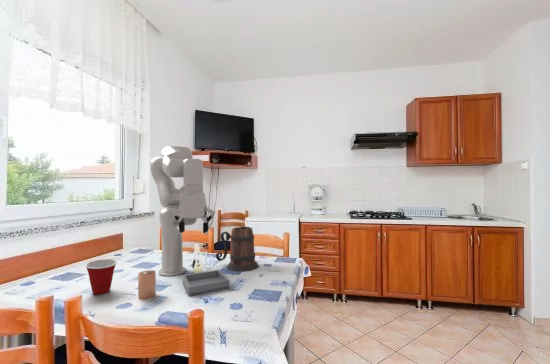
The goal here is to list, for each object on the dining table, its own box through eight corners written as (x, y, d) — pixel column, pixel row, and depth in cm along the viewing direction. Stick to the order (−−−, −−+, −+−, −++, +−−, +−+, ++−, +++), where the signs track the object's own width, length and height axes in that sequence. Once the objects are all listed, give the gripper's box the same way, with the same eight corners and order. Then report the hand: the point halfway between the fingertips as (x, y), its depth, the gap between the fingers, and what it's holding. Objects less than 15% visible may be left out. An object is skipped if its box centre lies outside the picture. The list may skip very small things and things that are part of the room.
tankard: (263, 263, 147) (263, 226, 148) (252, 272, 131) (251, 231, 132) (223, 260, 154) (223, 224, 154) (208, 269, 138) (208, 229, 138)
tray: (182, 283, 118) (182, 275, 118) (219, 277, 125) (218, 269, 125) (188, 296, 104) (188, 287, 104) (229, 288, 111) (229, 280, 111)
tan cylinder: (138, 295, 106) (138, 271, 106) (155, 292, 109) (155, 269, 109) (138, 300, 101) (138, 275, 101) (156, 297, 103) (156, 273, 103)
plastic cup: (93, 300, 102) (93, 267, 102) (79, 294, 107) (79, 263, 108) (122, 290, 111) (122, 260, 111) (108, 285, 117) (108, 257, 117)
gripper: (168, 189, 107) (168, 233, 107) (211, 189, 105) (211, 234, 105) (177, 189, 115) (177, 230, 115) (217, 189, 113) (217, 230, 113)
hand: (193, 232), depth 110 cm, fingers open, 9 cm apart
